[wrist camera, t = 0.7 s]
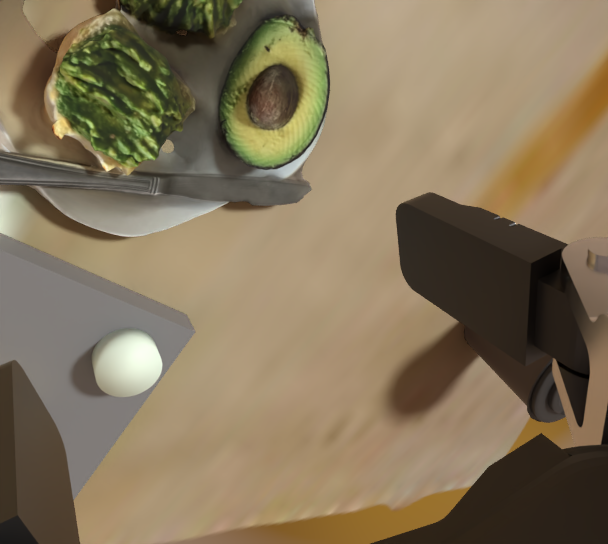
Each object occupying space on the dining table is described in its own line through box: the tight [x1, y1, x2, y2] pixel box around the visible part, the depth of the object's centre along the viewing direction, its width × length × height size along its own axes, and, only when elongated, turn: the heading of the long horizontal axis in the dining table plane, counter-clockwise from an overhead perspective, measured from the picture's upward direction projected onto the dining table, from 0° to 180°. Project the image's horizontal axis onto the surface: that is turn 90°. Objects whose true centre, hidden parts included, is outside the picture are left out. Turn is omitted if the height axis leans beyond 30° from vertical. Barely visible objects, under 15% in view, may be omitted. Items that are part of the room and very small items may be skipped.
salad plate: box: [0, 0, 330, 237], centre depth 25 cm, size 19×18×5 cm
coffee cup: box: [464, 326, 566, 423], centre depth 45 cm, size 8×8×10 cm
